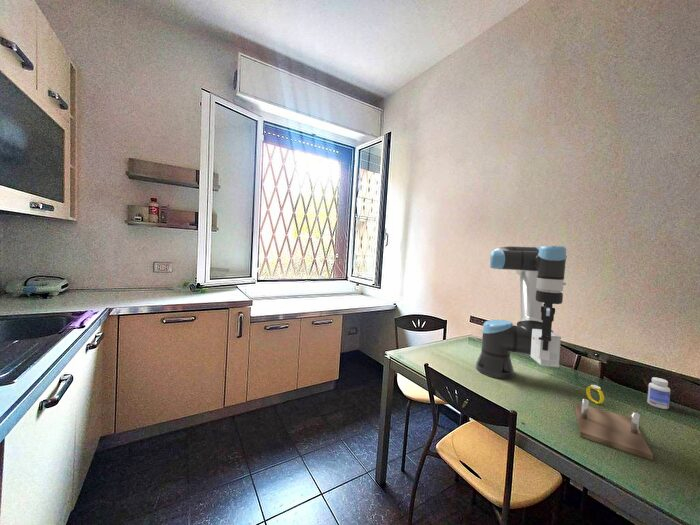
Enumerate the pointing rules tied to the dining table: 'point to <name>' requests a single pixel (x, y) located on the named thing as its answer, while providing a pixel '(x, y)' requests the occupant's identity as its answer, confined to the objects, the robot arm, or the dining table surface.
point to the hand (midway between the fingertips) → (544, 354)
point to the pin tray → (611, 429)
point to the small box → (553, 349)
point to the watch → (598, 391)
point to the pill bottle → (658, 393)
